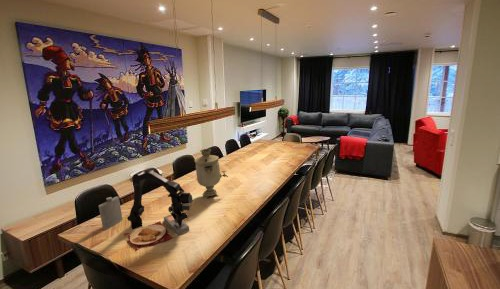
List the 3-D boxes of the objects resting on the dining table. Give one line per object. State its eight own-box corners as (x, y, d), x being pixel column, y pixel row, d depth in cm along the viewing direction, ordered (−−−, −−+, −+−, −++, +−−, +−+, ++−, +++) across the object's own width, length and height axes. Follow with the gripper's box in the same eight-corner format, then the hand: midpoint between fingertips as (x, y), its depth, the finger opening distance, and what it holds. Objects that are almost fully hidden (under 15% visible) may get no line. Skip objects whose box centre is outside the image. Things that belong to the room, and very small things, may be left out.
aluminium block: (177, 231, 172) (176, 223, 171) (175, 229, 175) (174, 220, 174) (184, 229, 174) (183, 221, 173) (181, 226, 178) (180, 218, 177)
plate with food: (160, 223, 185) (159, 219, 184) (172, 239, 164) (171, 234, 164) (124, 236, 173) (123, 231, 172) (131, 254, 152) (130, 249, 151)
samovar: (227, 202, 211) (223, 154, 202) (194, 203, 212) (189, 155, 203) (230, 187, 240) (227, 145, 231) (201, 188, 241) (197, 146, 232)
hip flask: (120, 218, 194) (115, 192, 189) (124, 218, 193) (120, 193, 188) (102, 229, 179) (96, 202, 175) (106, 230, 178) (101, 203, 174)
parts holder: (176, 235, 168) (176, 230, 167) (164, 220, 187) (163, 216, 186) (189, 230, 173) (188, 226, 172) (175, 216, 192) (175, 212, 191)
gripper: (194, 203, 168) (196, 225, 171) (182, 194, 183) (185, 215, 186) (177, 209, 161) (180, 232, 165) (166, 199, 176) (169, 220, 180)
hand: (179, 224), depth 174 cm, fingers closed on aluminium block, 4 cm apart
